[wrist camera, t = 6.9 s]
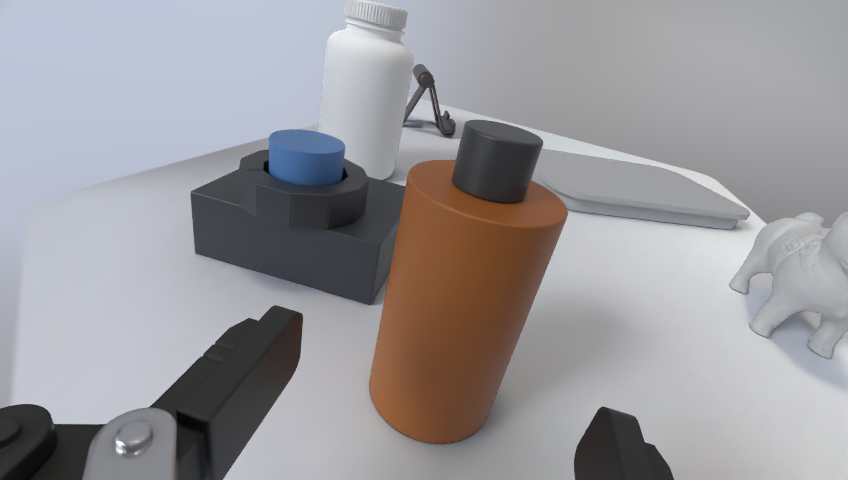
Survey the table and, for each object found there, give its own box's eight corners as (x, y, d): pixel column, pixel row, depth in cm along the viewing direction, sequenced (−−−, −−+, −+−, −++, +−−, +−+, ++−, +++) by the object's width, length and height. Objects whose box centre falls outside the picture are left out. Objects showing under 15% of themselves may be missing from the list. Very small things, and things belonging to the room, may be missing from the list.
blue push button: (253, 177, 22) (253, 139, 21) (290, 158, 25) (292, 125, 24) (324, 196, 21) (327, 158, 20) (351, 174, 25) (355, 141, 24)
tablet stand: (453, 139, 61) (467, 79, 57) (401, 130, 59) (411, 68, 55) (445, 124, 68) (456, 71, 65) (398, 116, 67) (407, 61, 63)
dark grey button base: (183, 260, 23) (173, 160, 21) (274, 200, 32) (276, 124, 29) (365, 315, 22) (380, 217, 20) (408, 237, 31) (423, 162, 28)
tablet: (504, 159, 56) (509, 143, 55) (662, 182, 62) (669, 168, 61) (555, 211, 43) (562, 191, 41) (752, 234, 49) (763, 217, 47)
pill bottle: (375, 190, 38) (402, 7, 31) (299, 166, 40) (309, -14, 32) (405, 169, 45) (434, 15, 38) (340, 149, 46) (356, -2, 39)
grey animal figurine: (769, 367, 26) (894, 216, 21) (719, 274, 37) (792, 160, 32) (869, 403, 24) (1027, 251, 19) (786, 296, 35) (874, 180, 30)
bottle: (350, 419, 17) (399, 126, 11) (389, 332, 22) (436, 99, 16) (484, 463, 16) (607, 178, 11) (492, 364, 21) (579, 134, 16)
